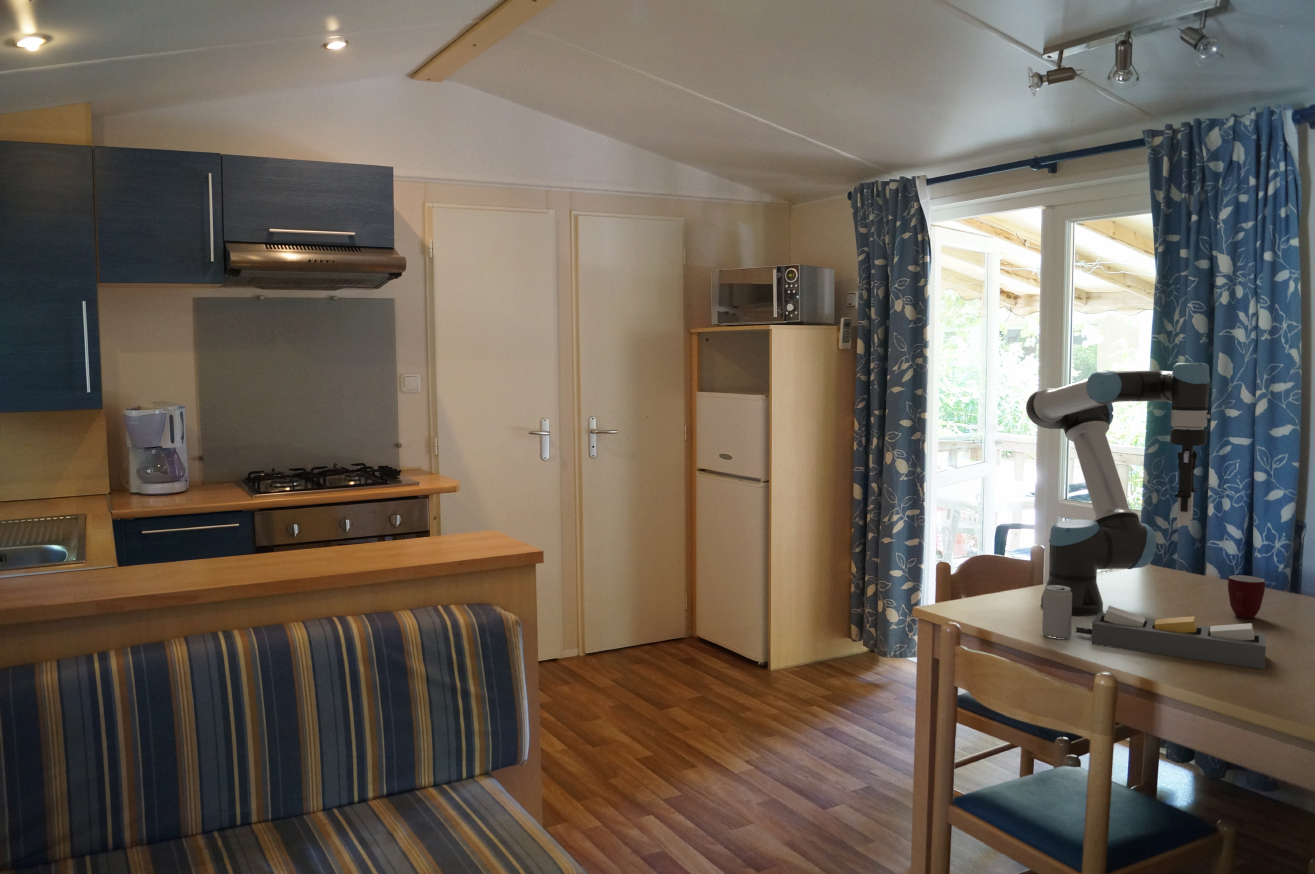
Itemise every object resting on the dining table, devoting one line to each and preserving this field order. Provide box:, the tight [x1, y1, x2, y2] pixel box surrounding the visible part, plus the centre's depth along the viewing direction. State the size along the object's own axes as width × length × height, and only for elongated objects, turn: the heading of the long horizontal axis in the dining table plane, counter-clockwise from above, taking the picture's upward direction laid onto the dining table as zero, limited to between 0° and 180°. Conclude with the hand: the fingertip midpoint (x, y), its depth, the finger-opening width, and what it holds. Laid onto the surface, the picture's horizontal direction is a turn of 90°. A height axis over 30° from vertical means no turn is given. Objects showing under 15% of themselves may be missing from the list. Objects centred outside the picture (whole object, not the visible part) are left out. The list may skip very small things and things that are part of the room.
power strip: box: [1075, 612, 1267, 670], centre depth 215 cm, size 38×11×5 cm, turn 58°
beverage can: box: [1041, 585, 1073, 639], centre depth 224 cm, size 6×6×12 cm
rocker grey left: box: [1104, 605, 1146, 627], centre depth 219 cm, size 8×5×2 cm, turn 58°
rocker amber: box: [1154, 615, 1198, 633], centre depth 214 cm, size 8×5×2 cm, turn 58°
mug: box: [1227, 574, 1266, 620], centre depth 240 cm, size 11×8×10 cm
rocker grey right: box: [1210, 622, 1255, 640], centre depth 208 cm, size 8×5×2 cm, turn 58°
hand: (1184, 521), depth 224 cm, fingers open, 9 cm apart
